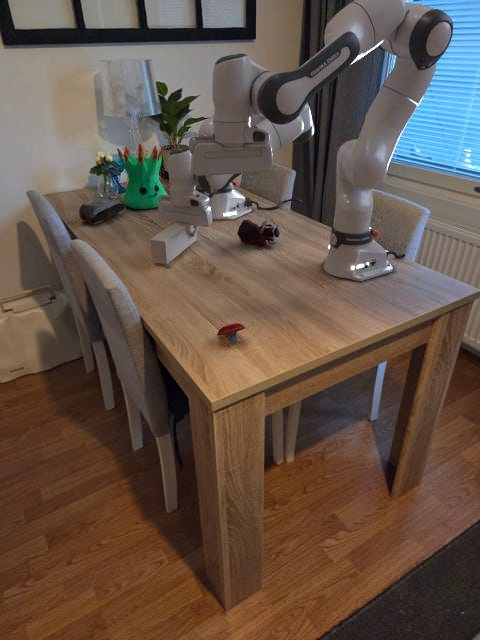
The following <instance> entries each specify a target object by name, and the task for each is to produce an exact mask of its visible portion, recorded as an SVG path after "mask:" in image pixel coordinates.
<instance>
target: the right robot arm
mask: <svg viewBox="0 0 480 640" xmlns="http://www.w3.org/2000/svg"><path fill="white" fill-rule="evenodd" d="M453 34H454V22H453V19H452V17H451V16H450V15H449V14H448V13H446V12H445V11H443V10H441V9H439V8H433V7H431V6H428V5H425V4H421V3H411V2H407V1H406V0H353V1H351V2H350V3H348V4H347V5H346V6H344V7H343V8H342V9H340V10H339V11H338V12H337V13H336V14H335V15H334V16H333V17H332V18H331V19H330V20H329V21H328V22H327V24H326V26H325V29H324V33H323V41H324V42H323V43H324V46H323V47H322V49H320V50H319V51H318V52H317V53H315V54H314V55H313V56H312V57H310V58H309V59H308V60H306V61H305V62H304V63H302V65H300V66H299V67H298V68H296V69H294V70H291V71H284V72H279V71H274V70H270V69H268V68H265V67H264V66H262V65H261V64H258V63H257V62H255V61H254V60H253V59H252V58H250V57H249V55H248V54H245V53H236V54H234V53H233V54H228V55H224V56H221V57H220V58H218V59H217V61H215V63H214V66H213V71H212V82H211V83H212V84H211V85H212V88H211V89H212V102H213V107H214V109H213V110H214V111H213V134H205V135H200V134H198V133H197V134H195V135H194V136H192V137H190V139H189V141H188V147H189V150H190V153H191V154H192V155H191V171H192V172H193V174H194V175H196V176H204V175H206V179H207V181H208V182H209V184H210V190H211V193H217V185H216V184H212V182H211V180H210V179H212V175H223V174H241V175H242V174H250V176H251V178H250V180H249V181H248V182H247V181H246V191H247V192H249V191H250V192H251V191H254V189H255V187H254V186H255V183H256V181H257V180H258V178H259V173H270V172H271V170H272V169H273V163H274V161H273V160H274V159H273V154H272V148H271V146H270V144H269V143H268V141H269V138H270V135H269V133H268V132H267V131H265V130H263V129H261V128H258V127H256V126H251V125H250V118H251V115H253V114H258V115H260V116H262V117H264V118H266V119H268V120H269V121H271V122H272V123H274V124H278V125H284V124H288V123H290V122H292V121H294V120H295V119H296V118H297V117H298V116H299V115H300V114H301V112H302V111H303V109H304V108H305V106H306V105H307V103H308V104H309V102H310V101H311V100H312V99H313V97H314V96H315V95H317V94H318V93H319V92H320V91H321V90H322V89H324V88H325V87H326V86H327V85H328V84H330V83H331V82H332V81H333V80H334V79H336V78H337V77H338V76H340V75H341V74H342V73H343V72H345V70H347V69H348V67H350V66H351V65H353V64H354V63H355V62H358V60H361V59H362V58H363V57H364V56H366V55H367V54H368V53H370V52H371V51H373V50H374V49H376V48H378V49H380V50H381V51H383V52H387V53H390V55H393V56H395V61H394V65H393V67H392V69H391V71H390V72H389V74H388V75H387V77H386V79H385V80H384V82H383V83H382V86H380V89H379V90H378V92H377V93H376V96H375V98H374V99H373V101H372V103H371V104H370V107H369V108H368V110H367V112H366V114H365V117H364V122H363V124H362V128H361V130H360V133H359V136H358V138H354V139H350V140H347V141H345V142H343V143H342V144H341V146H340V147H339V148H338V150H337V153H336V169H335V170H336V171H335V207H334V216H333V225H331V228H330V229H331V230H330V237H329V245H328V251H327V255H326V259H325V261H324V263H323V266H322V267H323V268H322V269H323V270H324V271H325V273H327V274H328V275H331V276H333V277H337V278H340V279H348V280H353V281H356V282H363V281H366V280H369V279H373V278H376V277H380V276H383V275H387V274H390V273H392V272H394V268H393V265H392V264H391V263H390V262H389V261H388V258H389V255H393V256H394V257H395V258H396V259H401V258H404V257H406V253H402V254H397V252H396V251H393V250H386V249H385V248H384V247H383V246H382V245H380V244H379V243H378V242H377V241H376V240H375V239H374V238H379V237H380V236H381V232H380V231H379V230H377V229H373V228H372V227H371V221H372V215H373V209H374V198H373V190H374V189H376V188H378V187H380V185H382V184H383V182H384V181H385V179H386V178H387V176H388V172H389V171H388V170H389V165H390V162H391V159H392V157H393V155H394V152H395V149H396V147H397V145H398V142H399V140H400V137H401V135H402V133H403V132H404V130H405V128H406V127H407V125H408V123H409V121H410V120H411V118H412V117H413V115H414V113H415V112H416V111H417V108H418V107H419V105H420V104H421V102H422V100H423V98H424V97H425V95H426V93H427V92H428V89H429V88H430V85H431V83H432V80H433V78H434V75H435V74H436V73H435V72H436V70H437V62H438V61H439V60H440V59H441V58H442V57H443V55H444V54H445V52H447V49H448V48H449V46H450V44H451V41H452V38H453ZM213 138H214V139H213Z"/></svg>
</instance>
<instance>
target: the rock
mask: <svg viewBox="0 0 480 640" xmlns="http://www.w3.org/2000/svg"><path fill="white" fill-rule="evenodd" d="M125 209H126V205H125V204H124V203H121V201H120V198H113V199H112V197H111V196H108V197H107V196H101V197H98V198H94V199H91V200H87V201H85V202H83V203H82V204H81V205H80V206H79V210H78V216H79V219H80V220H81V221H82V222H86V221H87V222H88V223H89V224H91V225H96V224H98V223H101V222H102V221H105V220H108V219H109V218H111V217H113V216H115V215H117V214H119V213H121V212H123V211H125Z"/></svg>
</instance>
